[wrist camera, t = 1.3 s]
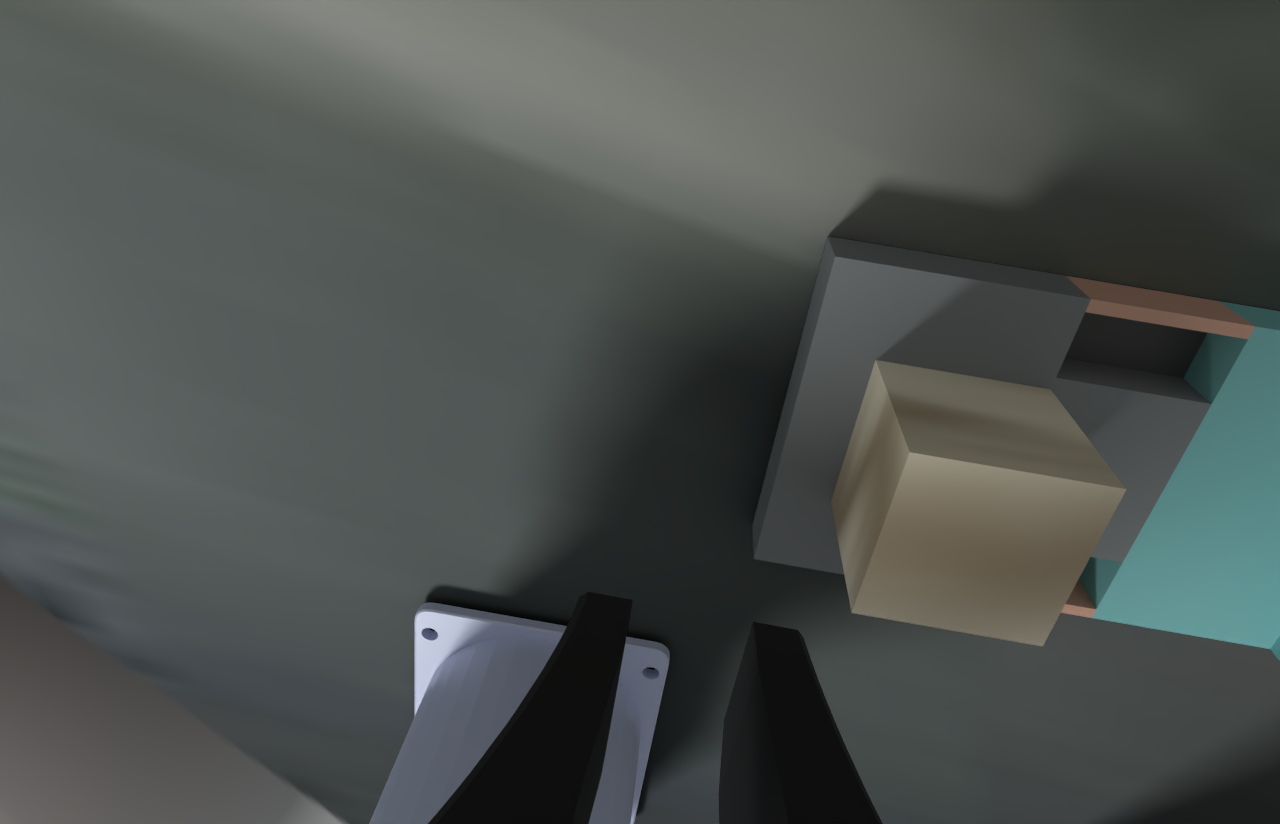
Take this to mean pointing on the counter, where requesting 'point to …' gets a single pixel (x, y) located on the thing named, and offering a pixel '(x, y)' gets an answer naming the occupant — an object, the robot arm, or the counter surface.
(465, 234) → the counter surface
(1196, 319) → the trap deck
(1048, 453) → the maple block
